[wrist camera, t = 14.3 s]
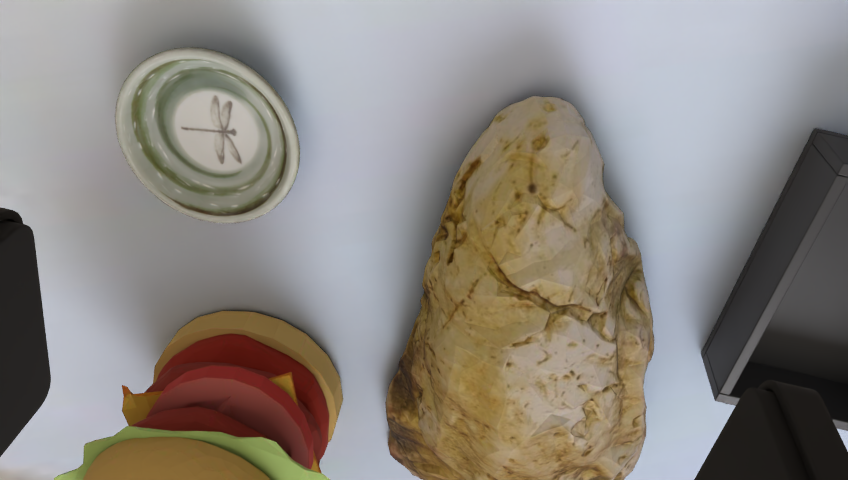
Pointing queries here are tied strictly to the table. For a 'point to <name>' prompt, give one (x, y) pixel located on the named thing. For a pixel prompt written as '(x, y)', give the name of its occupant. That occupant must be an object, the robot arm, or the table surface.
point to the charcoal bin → (793, 290)
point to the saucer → (207, 135)
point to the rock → (527, 316)
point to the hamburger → (225, 407)
